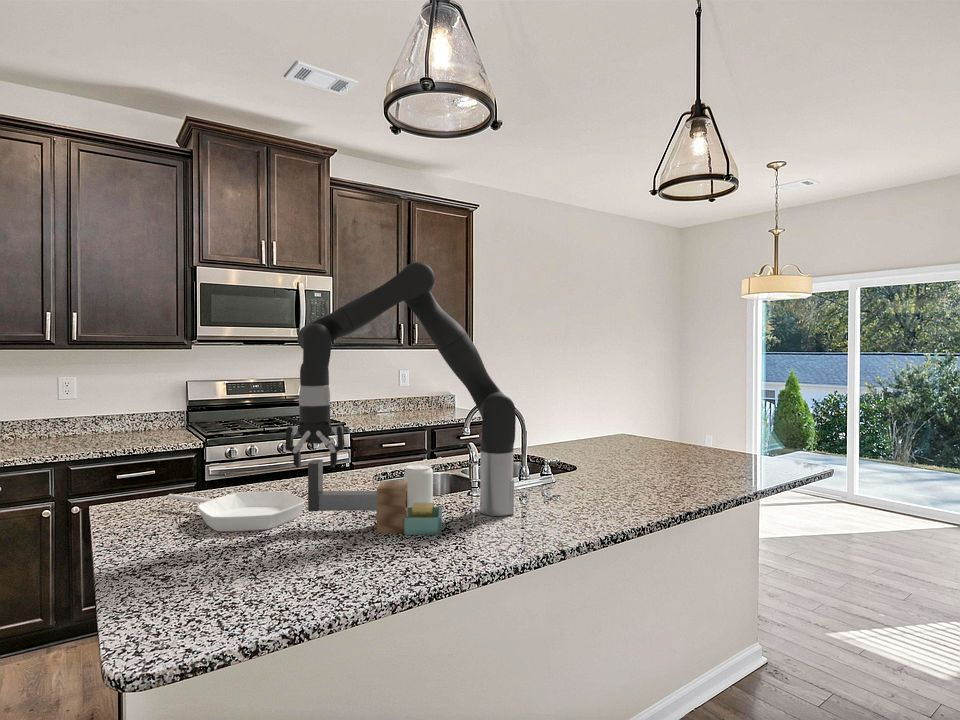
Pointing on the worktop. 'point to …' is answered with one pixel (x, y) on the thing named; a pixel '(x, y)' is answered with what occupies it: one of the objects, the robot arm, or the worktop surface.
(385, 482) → the block
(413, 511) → the block
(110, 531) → the worktop surface
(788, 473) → the worktop surface
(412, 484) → the beverage can
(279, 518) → the pan
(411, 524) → the tray
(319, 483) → the grey l-shaped block
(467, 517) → the worktop surface
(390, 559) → the worktop surface
